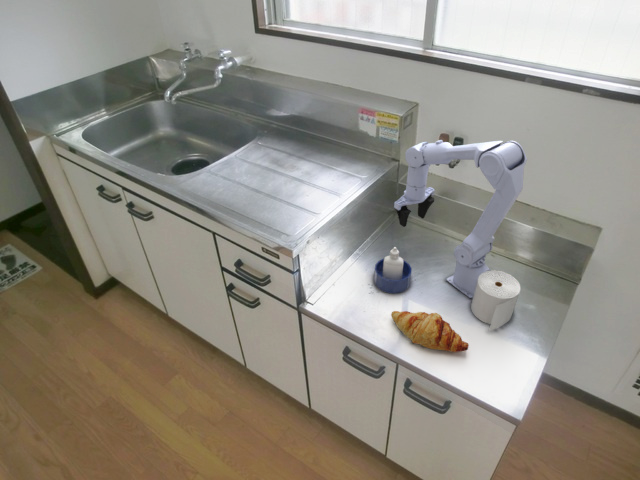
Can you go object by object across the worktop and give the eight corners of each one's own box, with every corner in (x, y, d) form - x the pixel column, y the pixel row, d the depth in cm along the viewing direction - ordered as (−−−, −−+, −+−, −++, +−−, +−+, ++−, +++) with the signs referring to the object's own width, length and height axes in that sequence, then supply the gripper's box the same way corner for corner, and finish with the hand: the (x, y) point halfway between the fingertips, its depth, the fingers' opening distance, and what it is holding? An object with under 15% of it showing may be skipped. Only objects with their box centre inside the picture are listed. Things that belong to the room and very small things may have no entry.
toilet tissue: (497, 293, 129) (505, 267, 123) (522, 324, 120) (532, 297, 114) (463, 300, 127) (470, 274, 121) (486, 332, 118) (494, 305, 112)
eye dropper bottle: (395, 287, 131) (398, 255, 124) (379, 279, 134) (382, 247, 127) (404, 279, 134) (407, 248, 126) (388, 271, 137) (391, 240, 129)
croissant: (385, 333, 123) (379, 324, 116) (401, 301, 126) (396, 290, 119) (461, 368, 113) (459, 361, 106) (476, 333, 116) (476, 323, 109)
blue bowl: (417, 283, 133) (419, 271, 130) (390, 298, 129) (391, 286, 126) (393, 264, 140) (394, 252, 137) (366, 278, 136) (367, 266, 133)
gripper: (425, 170, 138) (420, 207, 146) (388, 184, 132) (385, 222, 140) (442, 179, 133) (435, 217, 142) (405, 195, 127) (400, 233, 135)
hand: (411, 221), depth 140 cm, fingers open, 7 cm apart
